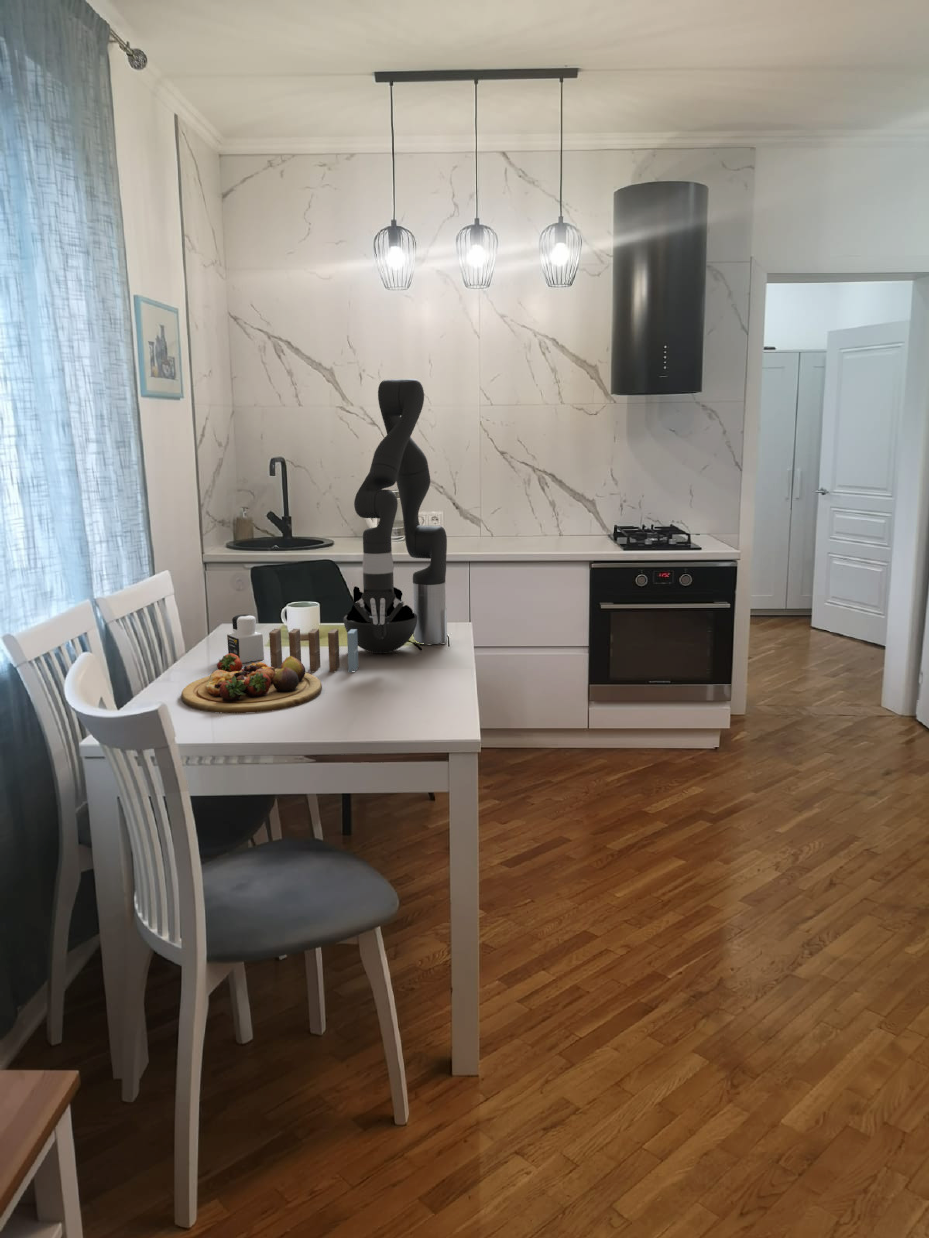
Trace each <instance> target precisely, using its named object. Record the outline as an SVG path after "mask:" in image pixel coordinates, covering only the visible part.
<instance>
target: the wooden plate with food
mask: <svg viewBox="0 0 929 1238" xmlns="http://www.w3.org/2000/svg"><path fill="white" fill-rule="evenodd" d="M216 668H217V670H215V671H213V672H212V673H211V674H210V675H208V676H206V677H202V678H199V679H196V680H194V681H192V682H191V683H188V685H186V686H185V687H184V688H183V689H182V691H181V694H180V698H181V700H182V702H183V704H185V706H187V707H189V708H191V709H194V710H198V711H203V712H209V713H215V712H219V713H218V714H247V713H246V712H255V713H263V712H269V711H270V712H272V710H273V711H279V710H284V709H289V708H293V707H296V706H297V707H298V706H300V705H303V704H306V703H309V702H311V701H312V700H314V699H315V698H317V697H318V696H319V695H320V694H321V692H322V690H323V684H322V681H320V679H319V678H317V676H315V675H312V674H310V673H309V672H306V667H305V666H304V663H302V661H301V662H300V661H299V660H298V659H296V658H294V657H292V656H290V655H288V656H286V658H284V660H282V665H281V668H280V669H275V668H274V667H271V666H268V664H266V663H264V662H262V661H261V662H260V661H257V662H256V663H255V662H251V664H249V665H245V666H244V667H243V663H242V662H241V661H240V659H239V657H238V656H237V655H235V654H233V653H230V654H228V653H226V654H225V655H222V658H221V659H218V663H217V664H216ZM305 702H306V703H305ZM220 712H222V713H220Z"/></svg>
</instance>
